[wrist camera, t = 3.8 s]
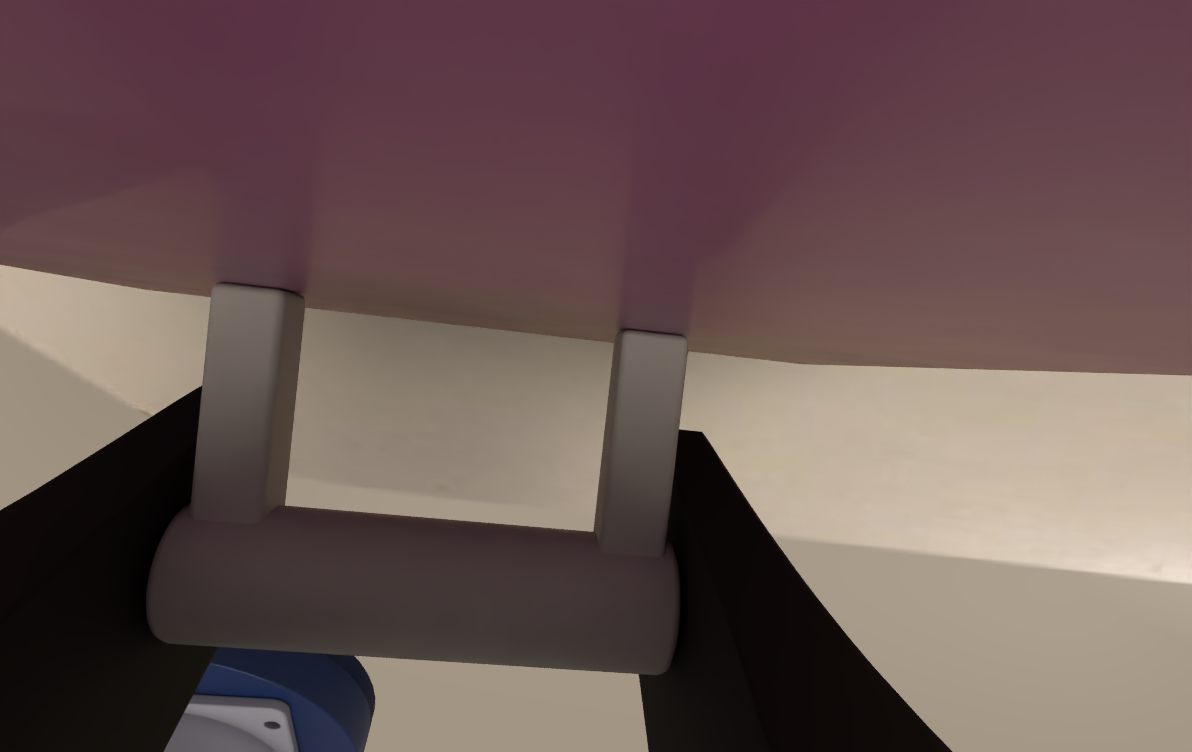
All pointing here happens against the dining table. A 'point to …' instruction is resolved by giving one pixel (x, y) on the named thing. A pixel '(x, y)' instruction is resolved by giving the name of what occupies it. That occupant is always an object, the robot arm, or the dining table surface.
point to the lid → (584, 246)
